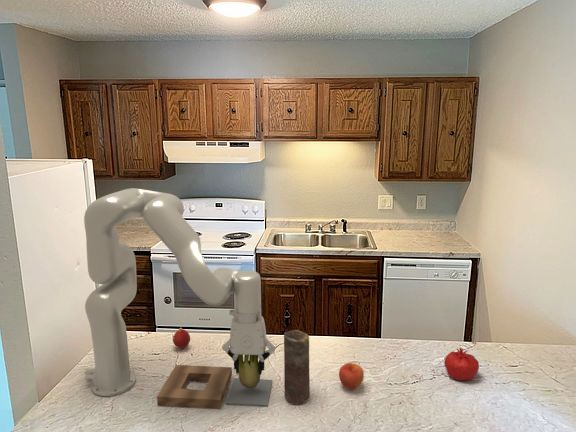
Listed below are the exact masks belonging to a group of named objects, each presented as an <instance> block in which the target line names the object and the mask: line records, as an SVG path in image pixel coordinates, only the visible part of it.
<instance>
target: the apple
mask: <svg viewBox="0 0 576 432" xmlns="http://www.w3.org/2000/svg"><path fill="white" fill-rule="evenodd" d="M338 376H339V382H340V383H341V385H342V386H343V387H344V388H345V389H347V390H351V391H354V390H356V389H358V388H359V387H360V386H361V385H362V383H363V381H364V377H365V375H364V370H363V368H362V367H361V366H360V365H359V364H357V363H353V362H348V363H344V364H343V365H342V366H341V367H340V368H339V371H338Z"/></svg>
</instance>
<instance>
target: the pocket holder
mask: <svg viewBox="0 0 576 432" xmlns="http://www.w3.org/2000/svg"><path fill="white" fill-rule="evenodd" d="M232 377H233V367H231V366H211V365H190V364H189V365H187V364H175V365H174V366H173V369H172V371H170V374H169V376H168V377H167V379H166V380H165V382H164V383H163V385H162V388H161V389H160V391H159V392H158V394H157V396H156V405H157V407H170V408H187V409H189V408H190V409H207V410H208V409H209V410H221V409H222V405H223V402H224V400H225V397H226V394H227V391H228V388H229V386H230V383H231V380H232ZM189 381H196V382H195V383H206V386H205V387H204V389H195V388H194V389H192V388H189V389H188V388H187V387H188V386H187V385H189V384H188V383H190V382H189Z"/></svg>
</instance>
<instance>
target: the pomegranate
mask: <svg viewBox="0 0 576 432" xmlns="http://www.w3.org/2000/svg"><path fill="white" fill-rule="evenodd" d="M467 352H469V349H467V350H465V351H464V348H462V347H458V348H456V351H450V352H449V353H448V354H447V355H446V356H445V357H444V361H443V362H444V363H443V364H444V368H445V369H446V372H447V375H448V376H449V377H450V378H452V379H454V380H457V381H471V380H473V379H474V378H475V377H476V375H477V374H478V372H479V369H480V365H479V364H480V363H479V360H478V359H476V357H475V356H474V355H473V354H469V353H467Z"/></svg>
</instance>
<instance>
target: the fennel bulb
mask: <svg viewBox="0 0 576 432" xmlns="http://www.w3.org/2000/svg"><path fill="white" fill-rule="evenodd" d="M258 363H259V357H258V355H239V373H238V378H239V379H240V382H241V384H242V385H243V386H245V387H247V388H254V387H256V386H257V384H258V383H259V381H260V379H261V375H259V367H258Z"/></svg>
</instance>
